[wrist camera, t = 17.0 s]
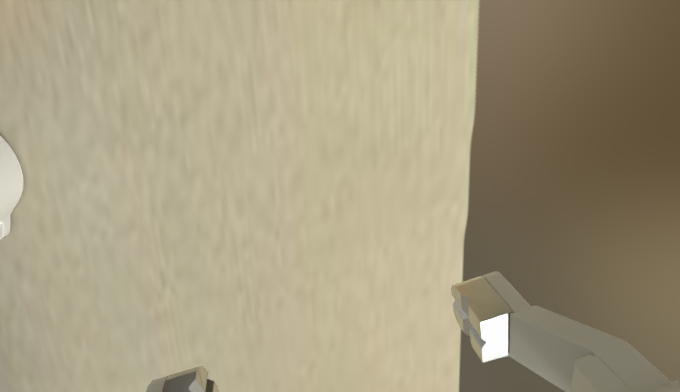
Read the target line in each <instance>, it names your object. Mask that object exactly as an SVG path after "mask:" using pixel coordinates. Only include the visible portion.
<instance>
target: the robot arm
mask: <svg viewBox="0 0 680 392" xmlns="http://www.w3.org/2000/svg"><path fill="white" fill-rule="evenodd" d="M22 190H23V174H22V170H21V166H20V164H19V161H18V159H17V157H16V155H15V154H14V152H13V150H12V149H11V147H10V146H9V145H8V143H7V142H6V141H5V140H4V139H3V138H2V137H1V136H0V239H2V238H4V237H5V236H7V235H8V234H9V232H10V215H11V212H12V210H13V209H14V207H15V206H16V204H17V203H18V201H19V199H20V197H21V194H22ZM451 290H452V295H453V297H454V298H455V302H454V303H453V309H454V313H455V317H456V320H457V322H458V324H459V326H460V328H461V329H462V331H463V332H464V333H465V334H467V335H469V336H470V337H471V345H472V347H473V348H474V350H475V351H476V353H477V355H478V356H479V357H480V359H481V361H482V362H483V363H484V362H487V361H490V360H494V359H497V358H500V357H504V356H507V355H509V356H510V357H511V358H513V359H514V360H516V361H518V362H519V363H521V364H523V365H524V366H526V367H527V368H529V369H531V370H532V371H533V372H535V373H537V374H538V375H540V376H541V377H543V378H545V379H546V380H548V381H549V382H551V383H553V384H554V385H556V386H557V387H559V388H560V389H562V390H564V391H565V392H680V380H678V381H675V382H671V381H670V380H669V379H667V378H666V377H665V376H664V375H663V374H662V373H661V372H660V371H659V370H657V369H656V368H655V367H654V366H653V365H652V364H651V363H650V362H648V361H647V360H646V359H645V358H644V357H643V356H642V355H641V354H639V353H638V352H637V351H636V350H635V349H634V348H633V347H632V346H631V345H629V344H628V343H627V342H626V341H624V340H621V339H619V338H616V337H614V336H611V335H609V334H606V333H604V332H601V331H599V330H596V329H594V328H591V327H589V326H586V325H584V324H581V323H579V322H576V321H574V320H571V319H569V318H566V317H564V316H561V315H558V314H556V313H554V312H551V311H549V310H546V309H544V308H541V307H539V306H536V305H535V306H532V307H531V306H530V305H529V304H528V303H527V302H526V301H525V300H524V298H523V297H522V296H521V295H520V294H519V293H518V292H517V291H516V290H515V289H514V288H513V287H512V286H511V284H510V283H509V282H508V281H507V280H506V279H505V278H504V277H503V276H502V275H501V274H500V273H499V272H497V271H495V272H492V273H489V274H486V275H483V276H479V277H476V278H473V279H470V280H467V281H464V282H461V283H458V284H455V285H452V288H451ZM207 377H208V372H207V370H206V369H205V368H204V366H200V367H196V368H193V369H190V370H186V371H183V372H179V373H176V374H172V375H169V376H166V377H163V378H160V379H156V380H153V381H152V382H151V383H150V384H149V386H148V388H147V391H146V392H219V390H218V387H217V385H216V383H215V382H214V381H212V380H209V379H207Z"/></svg>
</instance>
